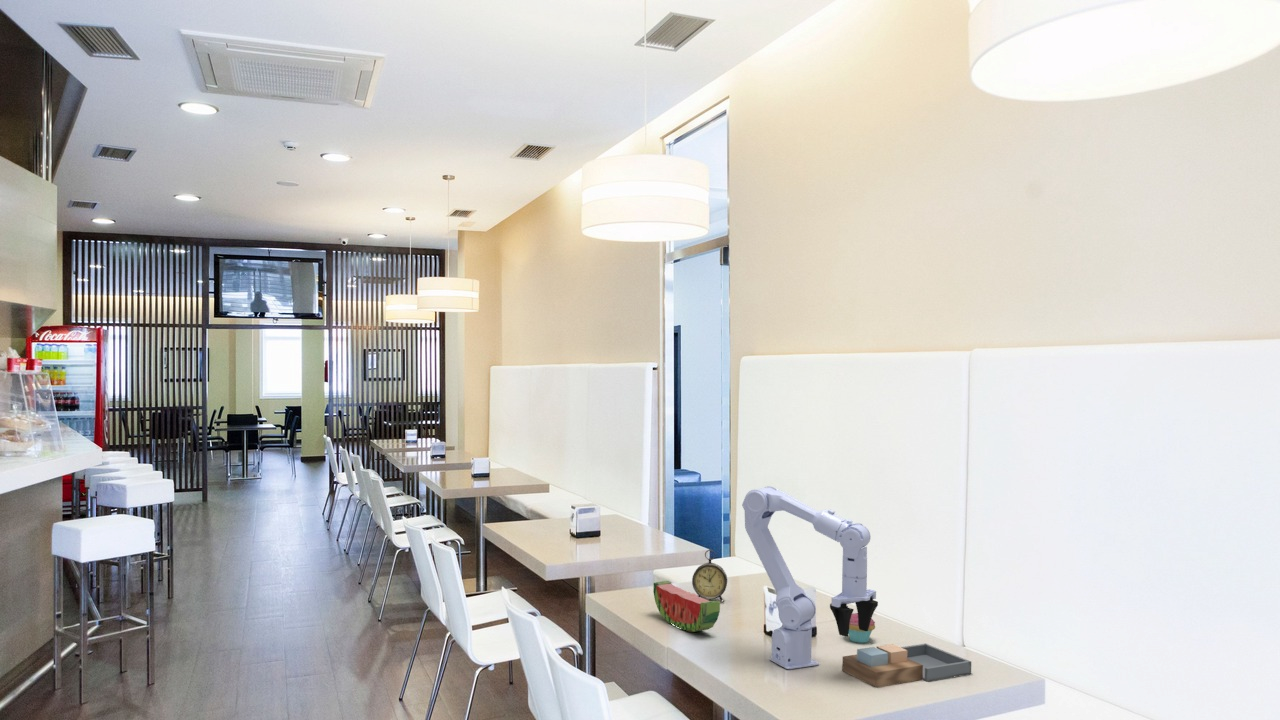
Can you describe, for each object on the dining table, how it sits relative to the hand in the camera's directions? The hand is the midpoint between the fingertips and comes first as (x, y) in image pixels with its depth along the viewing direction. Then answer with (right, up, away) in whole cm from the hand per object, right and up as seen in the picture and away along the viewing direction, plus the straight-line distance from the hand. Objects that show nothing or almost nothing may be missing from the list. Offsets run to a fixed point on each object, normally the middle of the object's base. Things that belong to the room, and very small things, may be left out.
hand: (853, 632), depth 198 cm
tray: (+19, -11, +6) cm, 23 cm away
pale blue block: (+4, -7, -1) cm, 8 cm away
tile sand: (+10, -7, +1) cm, 12 cm away
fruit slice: (-38, -11, +36) cm, 54 cm away
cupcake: (+8, -11, +27) cm, 31 cm away
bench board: (+7, -10, 0) cm, 12 cm away
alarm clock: (-29, -12, +65) cm, 72 cm away
